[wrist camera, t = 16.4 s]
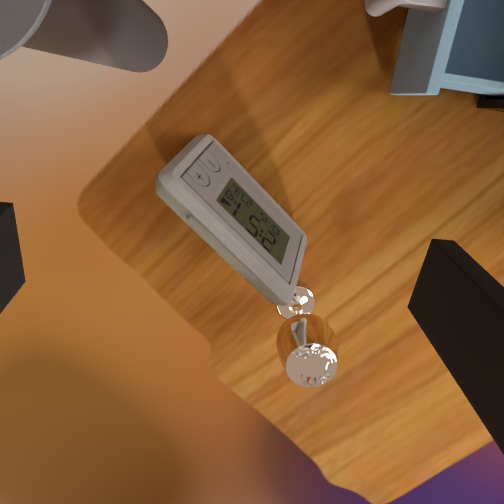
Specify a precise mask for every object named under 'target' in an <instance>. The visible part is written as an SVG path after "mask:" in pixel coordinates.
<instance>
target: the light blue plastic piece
mask: <svg viewBox="0 0 504 504" xmlns="http://www.w3.org/2000/svg"><path fill="white" fill-rule="evenodd" d="M364 4H365V9H366V11H367V12H368V14H370V15H371V16H374V17H378V16H381V15H383V14H385V13H387V12H388V11H390V10H392V9H393V8H395V7H397V6H400V7H406V8H409V10H408V14H407V18H406V22H405V26H404V31H403V35H402V39H401V43H400V48H399V52H398V56H397V60H396V65H395V69H394V73H393V77H392V82H391V86H390V90H389V94H392V95H438V94H439V90H440V88H446V89H452V90H459V91H465V92H472V93H478V94H485V95H491V96H498V97H504V0H365V2H364Z"/></svg>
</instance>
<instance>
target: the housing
mask: <svg viewBox="0 0 504 504" xmlns="http://www.w3.org/2000/svg"><path fill="white" fill-rule="evenodd" d="M477 108H483V109H489V110H496V111H502V112H504V97H498V96H491V95H485V94H481V96H480V99H479V102H478V105H477Z"/></svg>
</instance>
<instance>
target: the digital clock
mask: <svg viewBox="0 0 504 504" xmlns="http://www.w3.org/2000/svg"><path fill="white" fill-rule="evenodd" d="M154 184H155V191H156V193H157V195H158V196H159V197H160V198H161V199H162V200H163V201H164V202H165V203H166V204H167V205H168V206H169V207H170V208H171V209H172V210H173V211H174V212H175V213H176V214H177V215H178V216H179V217H180V218H181V219H182V220H183V221H184V222H185V223H186V224H187V225H189V226H190V227H191V228H192V229H193V230H194V231H195V232H196V233H197V234H198V235H199V236H200V237H201V238H202V239H203V240H204V241H205V242H206V243H207V244H209V245H210V246H211V247H212V248H213V249H214V250H215V251H216V252H217V253H218V254H219V255H220V256H221V257H222V258H223V259H224V260H225V261H226V262H228V263H229V264H230V265H231V266H232V267H233V268H234V269H235V270H236V271H237V272H238V273H239V274H240V275H241V276H242V277H243V278H244V279H245V280H246V281H248V282H249V283H250V284H251V285H252V286H253V287H254V288H255V289H256V290H257V291H258V292H259V293H260V294H261V295H263V296H264V297H265V298H266V299H267V300H268V301H269V302H271V303H273V304H275V305H279V306H285V305H288V304H290V303H291V301H292V299H293V296H294V293H295V289H296V285H297V281H298V277H299V273H300V269H301V264H302V260H303V256H304V252H305V248H306V243H307V236H306V234H305V233H304V231H303V230H302V229H301V228H300V227H299V226H298V225H297V224H296V223H295V221H294V220H293V219H292V218H291V217H290V216H289V215H288V214H287V213H286V212H285V211H284V210H283V209H282V208H281V207H280V206H279V205H278V204H277V202H276V201H275V200H274V199H273V198H272V197H271V196H270V195H269V194H268V193H267V192H266V191H265V190H264V189H263V188H262V187H261V186H260V185H259V184H258V182H257V181H256V180H255V179H254V178H253V177H252V176H251V175H250V174H249V173H248V172H247V171H246V170H245V169H244V168H243V167H242V166H241V165H240V164H239V163H238V161H237V160H236V159H235V158H234V157H233V156H232V155H231V154H230V153H229V152H228V151H227V150H226V149H225V148H224V147H223V146H222V145H221V144H220V143H219V142H218V141H217V140H216V139H215V138H214V137H213V136H211V135H207V134H199V135H197V136H196V137H194V138H193V139H192V140H191V141H190V142H189V143H188V144H187V145H186V146H185V147H184V148H183V149H182V150H181V151H180V152H179V153H178V154H177V155H176V156H175V157H174V158H173V159H172V160H171V161H170V162H169V163H168V164H167V165H166V166H165V167H164V168H163V169H162V170H161V171H160V172H159V174H158V175H157V176H156V179H155V182H154Z"/></svg>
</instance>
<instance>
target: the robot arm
mask: <svg viewBox="0 0 504 504" xmlns="http://www.w3.org/2000/svg"><path fill="white" fill-rule="evenodd" d="M24 283H25V276H24V269H23V263H22V257H21V251H20V244H19V238H18V233H17V226H16V219H15V213H14V208H13V203H7V202H0V313H1V312H2V311H3V309H4V308H5V307H6V306H7V304H8V303H9V302H10V301H11V299H12V298H13V297H14V296H15V294H16V293H17V292H18V290H19V289H20V288H21V287H22V285H23V284H24ZM408 309H409V310H410V312H411V313H412V315H413V316H414V318H415V319H416V321H417V322H418V324H419V325H420V327H421V328H422V330H423V332H424V333H425V335H426V336H427V338H428V339H429V341H430V342H431V344H432V345H433V347H434V348H435V350H436V351H437V353H438V355H439V356H440V358H441V359H442V361H443V362H444V364H445V365H446V367H447V368H448V370H449V371H450V373H451V375H452V376H453V378H454V379H455V381H456V382H457V384H458V385H459V387H460V388H461V390H462V391H463V393H464V394H465V396H466V398H467V399H468V401H469V402H470V404H471V405H472V407H473V408H474V410H475V411H476V413H477V414H478V416H479V418H480V419H481V421H482V422H483V424H484V425H485V427H486V428H487V430H488V431H489V433H490V434H491V436H492V437H493V439H494V441H495V442H496V444H497V445H498V447H499V448H500V450H501V451H502V453H503V454H504V287H503V286H502V285H501V284H500V283H499V282H498V281H496V280H495V279H494V278H493V277H492V276H491V275H490V274H489V273H488V272H487V271H486V270H485V269H484V268H483V267H482V266H480V265H479V264H478V263H477V262H476V261H475V260H474V259H473V258H472V257H471V256H470V255H469V254H468V253H467V252H465V251H464V250H463V249H462V248H461V247H460V246H459V245H458V244H457V243H456V242H455V241H452V240H441V239H432V240H431V243H430V246H429V248H428V251H427V254H426V257H425V260H424V262H423V265H422V268H421V271H420V274H419V276H418V279H417V282H416V285H415V288H414V290H413V293H412V296H411V299H410V301H409V304H408Z"/></svg>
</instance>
